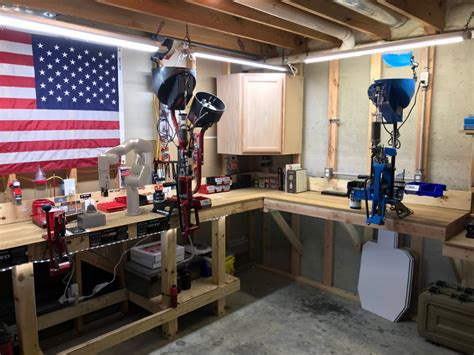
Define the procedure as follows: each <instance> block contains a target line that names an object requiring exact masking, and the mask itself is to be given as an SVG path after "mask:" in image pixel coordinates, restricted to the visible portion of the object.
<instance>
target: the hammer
mask: <svg viewBox="0 0 474 355" xmlns="http://www.w3.org/2000/svg"><path fill="white" fill-rule="evenodd" d="M89 211H96V212H98V210H97V208H96V206H95V205H94V204H88V205H87V206H86V211H81V212H79V213H74V214H69V215H65V217H66V220H67V222H68V223H67V224H69V223H71V222H74V221H77V215H83V214H84V212H89Z"/></svg>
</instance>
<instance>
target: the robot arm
mask: <svg viewBox="0 0 474 355" xmlns="http://www.w3.org/2000/svg"><path fill="white" fill-rule="evenodd" d="M131 151H133V152H134V160H133V163H132V165H131V168H130V173H131V175H127V176H125V178H124V182H123V183H124V187H125V192H126V194H125V195H126V212H125V216H129V217H130V216H131V217H133V216H139V215H142V211H146V208H145V207H143V208H142V207H140V196H139V195H140V194H139V190H138V188H139V189H140V188H141V189H142V188H144V187H145V186H146V185H147V182H148V180H149V177H150V174H151V167H150V165H149V164H146V157H145V154H144V153H146V154H149V153H151V152H152V151H153V145H152V143H151V142H150V141H147V140H145V139H142V138H140V137H130V138H128V139H125V141H123V142H122V143H121V144H119V145H116V146H114V147H112V148H109V149H107V150H105V151H104V152H102V154H98V155H97V167H98V168H97V172H98V186H99V188H100V196H101V197H103V196H102V193H103V192H104V197H103V198H109V190H110V188H111V176H110V165H116V164H118V163H119V161H120V157H123V156H125V155H128V154H129V153H130V152H131Z"/></svg>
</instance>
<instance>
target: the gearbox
mask: <svg viewBox="0 0 474 355" xmlns="http://www.w3.org/2000/svg"><path fill="white" fill-rule="evenodd" d="M83 212H84V214H83V215H77V220H76V225H77V227H78V226H79V227H78V228H80V227H81V228H80V229H82V228H83V229H82V230H88V229H87V228H89V229H94V228H99V227H105V226H106V225H107V222H106V214H105V213H103V212H99V211H97V212H96V211H89V212H86V211H83Z"/></svg>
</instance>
